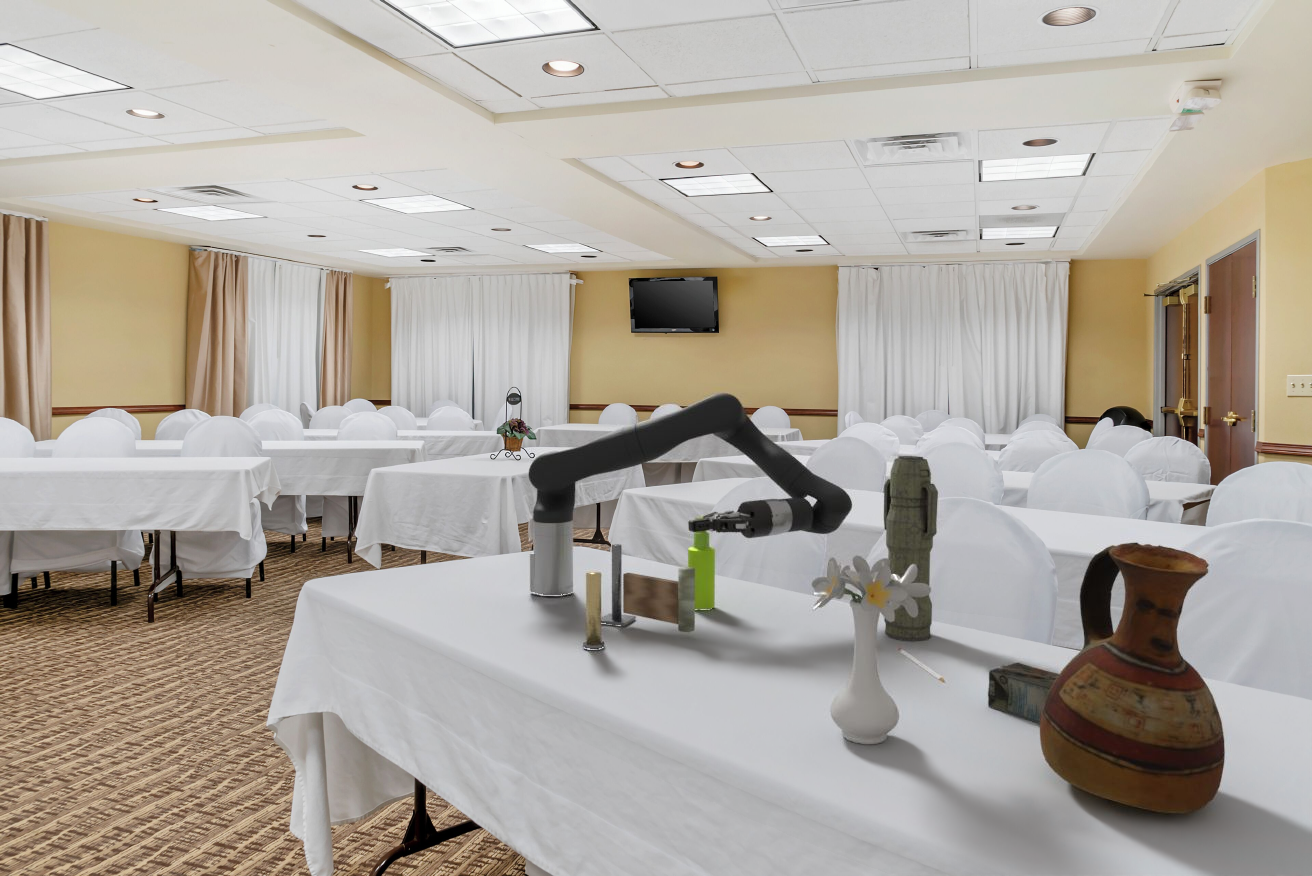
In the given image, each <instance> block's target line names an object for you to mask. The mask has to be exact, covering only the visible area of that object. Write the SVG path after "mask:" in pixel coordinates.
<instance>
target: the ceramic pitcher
mask: <svg viewBox="0 0 1312 876" xmlns="http://www.w3.org/2000/svg"><path fill="white" fill-rule="evenodd" d="M1208 567H1209V563H1208V562H1207V561H1206V559H1204V558H1202V557H1199V556H1197V555H1196V554H1193V553H1191V552H1187V551H1185V550H1181V549H1177V548H1172V547H1168V546H1163V545H1161V544H1159V545H1152V544H1150V543H1147V544H1146V543H1145V544H1142V543H1141V544H1140V543H1139V542H1126V543H1120V544H1117V545H1113V544H1112V545H1110V546H1107V547H1105V548H1104V549H1102V551H1100V552H1098V553H1096V554H1094V556H1093V557H1092V558H1091V560H1090V561H1089V563H1088V565H1087V568H1086V570H1085V572H1084V573H1085V574H1084V575H1083V580H1082V582H1081V585H1080V591H1079V607H1080V617H1081V623H1082V630H1083V638H1084V639H1083V641H1084V642H1083V647H1082V649H1081V650H1080V651H1079V652H1078V653H1077V654H1076V655H1075V656H1074V657H1072V659H1071V660H1070V661H1069V662H1068V663H1067V664H1066V665H1065V666H1064V668H1062V670H1061V672H1060V673H1058V674H1059V676H1058V677H1057V678H1056V680H1055V681H1054V683H1053V685H1052V687H1051V689H1050V691H1049V693H1048V695H1047V697H1046V700H1045V702H1044V706H1043V709H1042V714H1041V722H1040V723H1039V739H1040V742H1039V743H1040V746H1041V751H1042V755H1043V757H1044V761H1045V762H1046V763H1047V765H1048V766H1049V768H1051V769H1052V770H1053V772H1054V773H1056V775H1058V776H1059V777H1060V778H1061V779H1062V780H1064V781H1065V782H1067V783H1068V784H1071V785H1072V786H1075V787H1077V788H1078V789H1080V790H1083V791H1084V792H1087V793H1090V794H1092V795H1095V796H1097V797H1100V798H1102V799H1106V800H1110V801H1114V802H1117V803H1120V804H1124V805H1127V806H1128V807H1129V806H1130V807H1133V808H1139V809H1143V810H1148V811H1154V812H1157V813H1168V814H1188V813H1192V812H1195V811H1199V810H1201V809H1203V808H1204V807H1206V806H1207V805H1208V804H1209V803H1210V802H1211V801H1212V800H1213V799H1214V798H1215V797H1216V795H1217V793H1218V790H1219V789H1220V786H1221V783H1222V780H1223V779H1222V778H1223V772H1224V768H1225V757H1226V755H1225V753H1226V752H1225V751H1226V749H1225V736H1224V729H1223V722H1222V718H1221V716H1220V713H1219V709H1218V707H1217V706H1218V705H1217V703H1216V700H1215V697H1214V695H1213V693H1212V692H1211V690H1210V688H1209V686H1208V685H1207V683H1206V682H1205V680H1204V679H1203V677H1202V676H1201V675H1200V673H1199V672H1198V670H1196V668H1195V667H1193V665H1192V664H1191V663H1189V662H1188V661H1187V660H1185V658H1184V657H1183V656H1182V654H1181V652H1180V649H1179V642H1178V628H1179V627H1178V626H1179V621H1180V618H1181V615H1182V612H1183V607H1184V603H1185V599H1186V597H1187V595H1188V593H1189V590H1190V589H1191V588H1192V587H1193V586H1194V585H1195V584H1196V583H1197V582H1198V581H1200V580H1201V579H1202V578H1204V577H1206V575H1207V574H1208V573H1209V569H1208ZM1119 573H1120V574H1121V576H1122V578H1123V579H1122V580H1123V583H1124V603H1123V609H1122V613H1121V618H1120V619H1119V622H1118V624H1117V627H1116V630H1115V631H1114V627H1113V622H1112V621H1113V620H1112V612H1111V609H1112V608H1111V605H1112V603H1111V601H1112V591H1113V586H1114V583H1115V582H1116V579H1117V577H1118V574H1119Z"/></svg>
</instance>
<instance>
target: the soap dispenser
mask: <svg viewBox="0 0 1312 876" xmlns="http://www.w3.org/2000/svg"><path fill="white" fill-rule="evenodd" d="M697 519H703V516H698V517H695V518H694V520H697ZM687 567H693V568H695V609H699V610H700V609H711V608H714V606H715V604H716V603H715V601H716V600H715V597H716V596H715V594H716V591H715V590H716V589H715V588H716V584H715V582H716V581H715V580H716V577H715V574H716V572H715V571H716V570H715V569H716V548H714V547H711V546H710V531H700V532H693V546H691V547H690V546H689V547H688V548H687ZM714 609H715V608H714Z"/></svg>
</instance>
